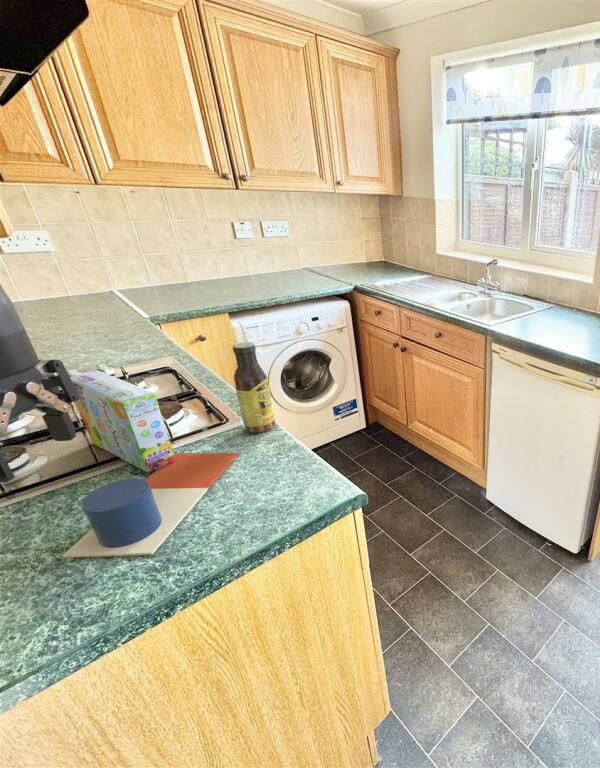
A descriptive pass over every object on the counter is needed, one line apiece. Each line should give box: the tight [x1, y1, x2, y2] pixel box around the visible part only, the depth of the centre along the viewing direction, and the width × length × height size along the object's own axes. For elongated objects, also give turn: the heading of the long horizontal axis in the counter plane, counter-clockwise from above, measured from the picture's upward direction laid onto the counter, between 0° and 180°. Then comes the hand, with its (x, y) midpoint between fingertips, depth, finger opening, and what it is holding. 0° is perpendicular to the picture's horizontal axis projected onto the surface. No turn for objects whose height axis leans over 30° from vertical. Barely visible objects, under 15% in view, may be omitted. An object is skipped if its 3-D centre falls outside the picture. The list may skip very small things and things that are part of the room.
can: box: [81, 478, 162, 548], centre depth 65 cm, size 8×8×7 cm
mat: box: [61, 452, 238, 559], centre depth 73 cm, size 12×26×1 cm, turn 6°
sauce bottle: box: [232, 341, 276, 434], centre depth 92 cm, size 6×6×20 cm
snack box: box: [69, 369, 176, 474], centre depth 81 cm, size 21×6×15 cm, turn 64°
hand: (36, 458), depth 51 cm, fingers open, 8 cm apart
